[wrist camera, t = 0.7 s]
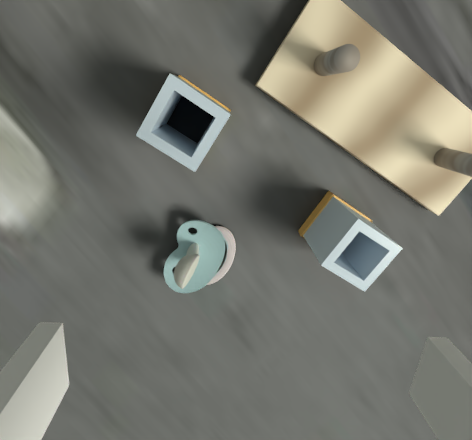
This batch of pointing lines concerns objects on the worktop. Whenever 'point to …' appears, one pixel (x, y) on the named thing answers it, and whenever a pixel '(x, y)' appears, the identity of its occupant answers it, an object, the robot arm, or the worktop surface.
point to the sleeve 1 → (168, 137)
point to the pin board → (373, 102)
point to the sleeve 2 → (348, 242)
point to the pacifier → (199, 256)
